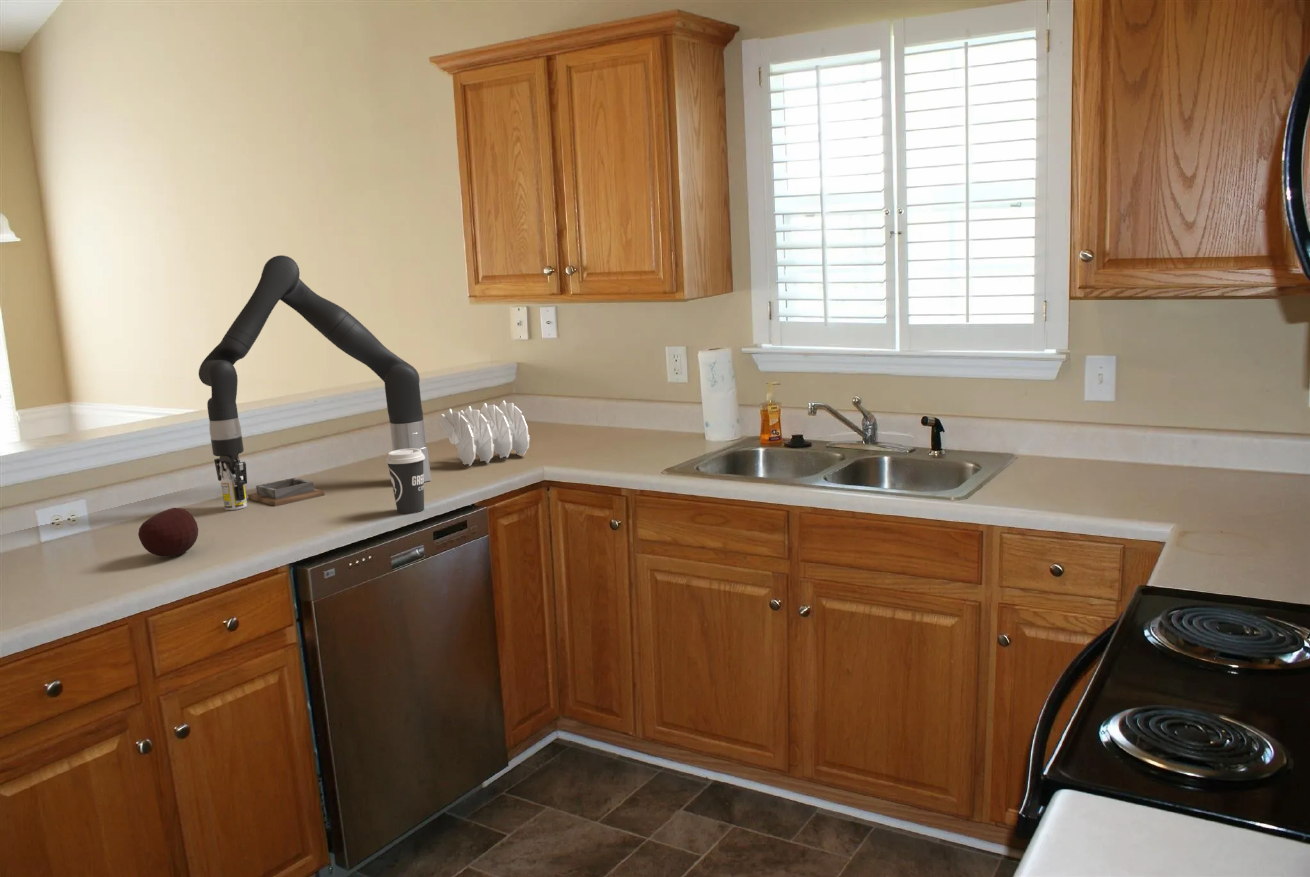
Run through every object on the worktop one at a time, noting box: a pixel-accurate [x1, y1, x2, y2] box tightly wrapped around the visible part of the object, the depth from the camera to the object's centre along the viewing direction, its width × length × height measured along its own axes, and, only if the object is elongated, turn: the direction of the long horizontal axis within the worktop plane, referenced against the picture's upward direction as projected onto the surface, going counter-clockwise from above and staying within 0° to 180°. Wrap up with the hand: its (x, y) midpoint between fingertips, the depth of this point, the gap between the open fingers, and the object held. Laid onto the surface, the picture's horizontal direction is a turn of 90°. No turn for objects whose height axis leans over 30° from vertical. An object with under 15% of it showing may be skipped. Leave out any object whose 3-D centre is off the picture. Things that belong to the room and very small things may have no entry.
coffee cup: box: [385, 449, 425, 515], centre depth 257 cm, size 10×10×15 cm
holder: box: [247, 477, 325, 507], centre depth 283 cm, size 16×14×4 cm
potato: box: [137, 507, 199, 557], centre depth 229 cm, size 11×13×10 cm
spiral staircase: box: [439, 400, 531, 467], centre depth 314 cm, size 18×18×25 cm
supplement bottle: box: [220, 471, 248, 511], centre depth 272 cm, size 6×6×10 cm
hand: (234, 498), depth 273 cm, fingers open, 6 cm apart
